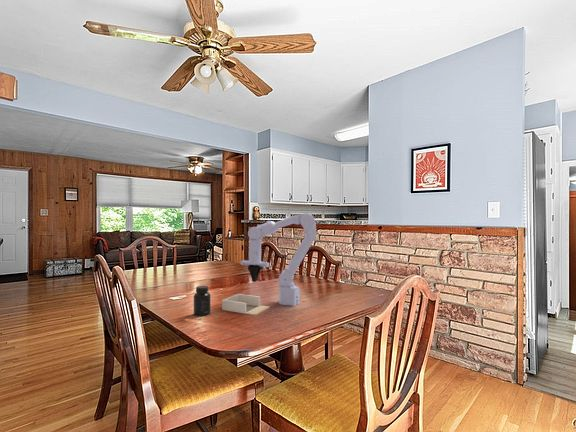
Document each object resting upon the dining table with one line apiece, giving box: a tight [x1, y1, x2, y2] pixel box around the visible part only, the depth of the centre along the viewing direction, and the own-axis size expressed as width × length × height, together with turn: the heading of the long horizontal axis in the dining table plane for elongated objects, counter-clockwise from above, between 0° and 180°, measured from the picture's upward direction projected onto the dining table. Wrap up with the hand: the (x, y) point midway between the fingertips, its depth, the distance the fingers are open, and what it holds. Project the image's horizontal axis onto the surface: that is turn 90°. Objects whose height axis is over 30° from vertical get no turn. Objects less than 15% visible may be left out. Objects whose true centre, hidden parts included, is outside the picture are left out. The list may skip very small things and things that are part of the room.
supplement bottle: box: [193, 285, 212, 317], centre depth 129 cm, size 7×7×12 cm
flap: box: [246, 305, 270, 316], centre depth 133 cm, size 1×12×4 cm
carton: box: [221, 293, 262, 314], centre depth 137 cm, size 12×12×5 cm
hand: (254, 281), depth 147 cm, fingers closed
